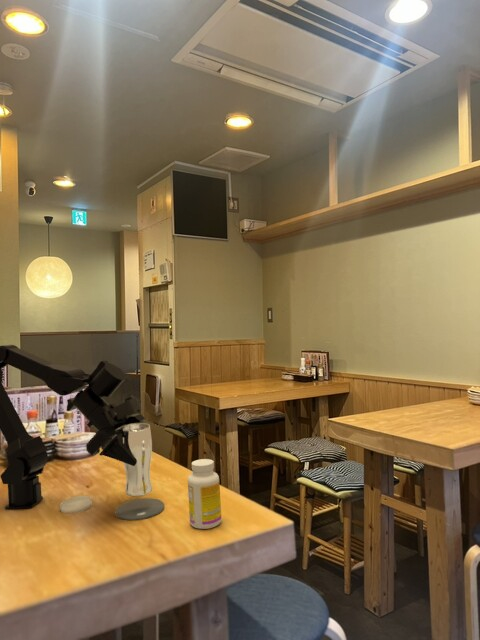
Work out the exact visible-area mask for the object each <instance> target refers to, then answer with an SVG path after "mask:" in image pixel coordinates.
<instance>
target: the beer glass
mask: <svg viewBox="0 0 480 640" xmlns="http://www.w3.org/2000/svg"><path fill="white" fill-rule="evenodd" d="M121 433H122V439H123V444H124V445H125V446H126V448H127V449H128V450H129V452H130V453H131V454H132V456H133V457H134V458H135V460H136V461H137V464H136V465H135V466H132V465H129V464H127V463H124V462H122V463H123V468H124V472H125V477H126V479H125V480H126V481H125V491H124V493H125V494H126V495H127V496H128V497H132V498H133V497H136V498H137V497H143V496H146V495H149V494H150V493H151V492H152V491H153V485H152V482H151V476H150V475H151V472H150V471H151V463H152V456H153V455H152V454H153V440H152V432H151V425H150V423H146V422H143V423H133V424H128V425H125V426H123V427H121Z"/></svg>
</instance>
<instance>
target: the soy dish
mask: <svg viewBox="0 0 480 640" xmlns="http://www.w3.org/2000/svg"><path fill="white" fill-rule="evenodd" d="M92 504H93V503H92V498H91V496H87V495H79V496H74V497H70V498H67V499H65V500H63V501H62V502H60V504H59V509H60V510H59V511H60V512H61V513H63V514H77V513H82V512H85V511H87V510H88V509H90V508H91V507H92V506H93V505H92Z"/></svg>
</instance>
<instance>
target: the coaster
mask: <svg viewBox="0 0 480 640" xmlns="http://www.w3.org/2000/svg"><path fill="white" fill-rule="evenodd" d="M164 510H165V503H164V502H163V501H162V500H160V499H157V498H152V497H151V498H150V497H149V498H146V497H145V498H137V499H136V498H135V499H132V500H127V501H126V502H123V503H121V504H120V505H118V506H116V507H115V510H114V515H115V517H116V518H118V519H120V520H124V521H141V520H147V519H151V518H154V517H156V516H158V515H160V514H161V513H162V512H164Z"/></svg>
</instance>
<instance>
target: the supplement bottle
mask: <svg viewBox="0 0 480 640" xmlns="http://www.w3.org/2000/svg"><path fill="white" fill-rule="evenodd" d="M214 462H215V461H214V460H212V459H209V458H201V459H197V460H194V461H192V462H191V470H192V473H191V474H189V476H188V477H187V493H188V511H189V523H190V525H191V526H192V527H193V528H195V529H199V530H206V529H212V528H215V527H217V526H219V525H220V523H221V522H222V507H221V490H220V487H221V486H220V477H219V475H218V473H217V472H215V471H214V468H215V463H214Z"/></svg>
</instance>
